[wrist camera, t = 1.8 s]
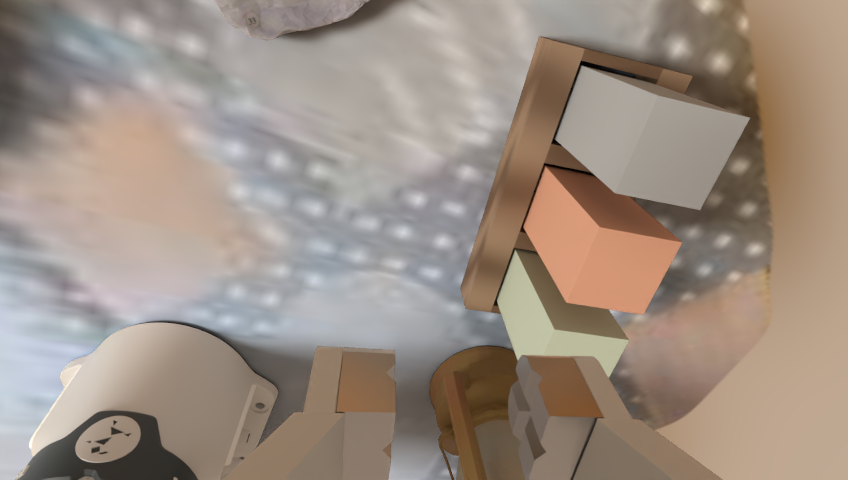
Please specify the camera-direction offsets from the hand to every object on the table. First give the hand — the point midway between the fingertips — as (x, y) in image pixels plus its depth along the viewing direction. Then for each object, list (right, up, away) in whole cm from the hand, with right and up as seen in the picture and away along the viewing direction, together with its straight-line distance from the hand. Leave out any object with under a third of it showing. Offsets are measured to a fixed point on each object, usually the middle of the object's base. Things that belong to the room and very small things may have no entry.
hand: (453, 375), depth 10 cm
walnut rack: (+10, +7, +28) cm, 30 cm away
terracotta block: (+10, +6, +26) cm, 28 cm away
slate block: (+12, +12, +23) cm, 28 cm away
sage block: (+8, -1, +29) cm, 30 cm away
